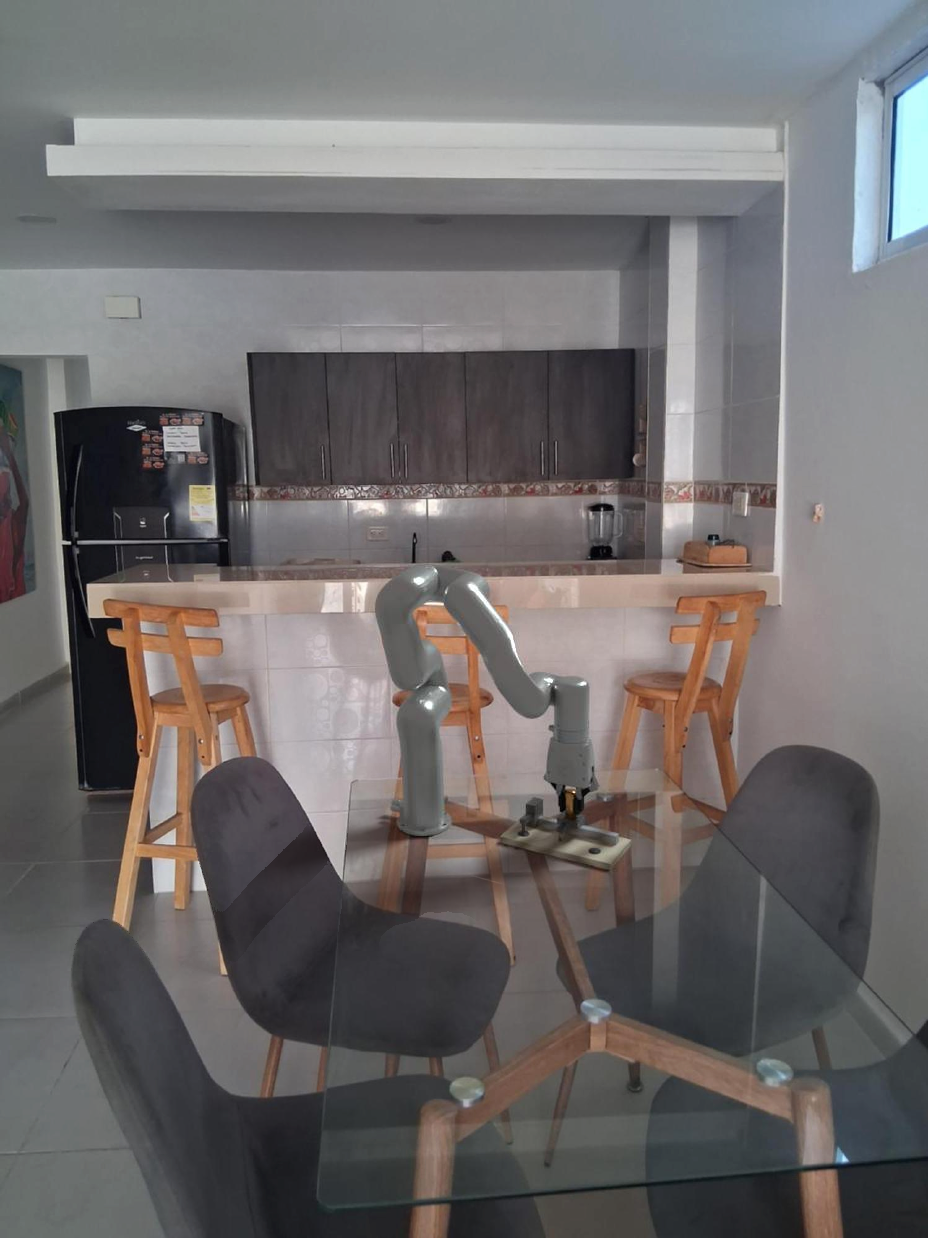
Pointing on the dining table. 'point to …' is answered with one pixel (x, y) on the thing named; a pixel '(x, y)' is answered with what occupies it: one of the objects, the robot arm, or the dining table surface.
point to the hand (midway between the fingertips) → (571, 811)
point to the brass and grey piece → (569, 814)
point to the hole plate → (565, 839)
